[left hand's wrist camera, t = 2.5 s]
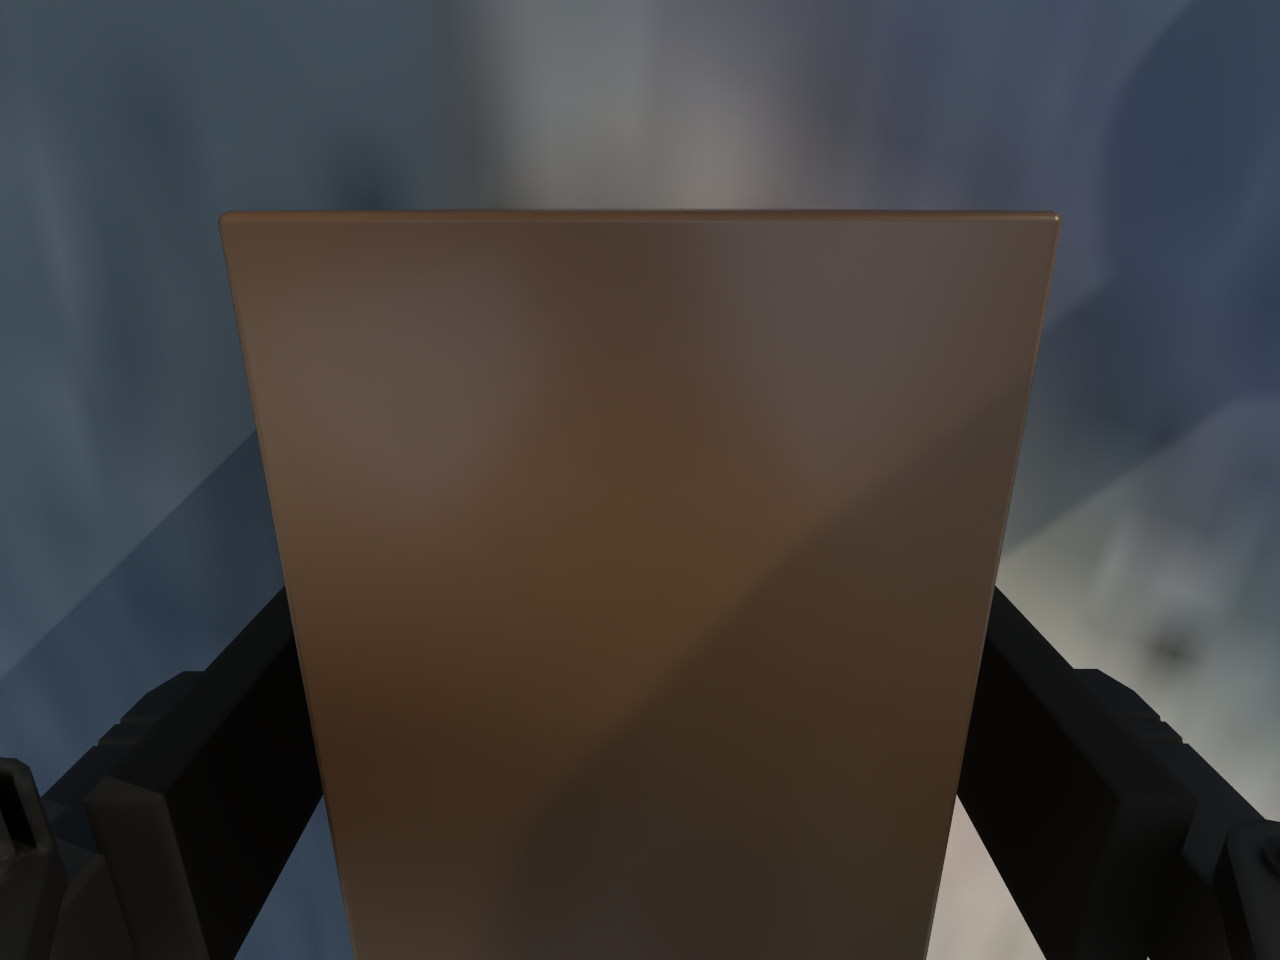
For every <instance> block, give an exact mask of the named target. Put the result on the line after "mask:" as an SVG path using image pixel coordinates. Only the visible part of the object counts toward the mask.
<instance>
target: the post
mask: <svg viewBox="0 0 1280 960" xmlns="http://www.w3.org/2000/svg"><path fill="white" fill-rule="evenodd" d="M218 224H219V229H220V235H221V240H222V245H223V251H224V256H225V262H226V267H227V273H228V278H229V283H230V289H231V294H232V300H233V305H234V311H235V316H236V321H237V327H238V332H239V338H240V343H241V349H242V354H243V359H244V365H245V370H246V376H247V381H248V387H249V392H250V397H251V403H252V408H253V414H254V419H255V425H256V430H257V435H258V441H259V446H260V452H261V457H262V463H263V468H264V473H265V479H266V484H267V490H268V495H269V501H270V506H271V511H272V517H273V522H274V528H275V533H276V539H277V544H278V549H279V555H280V560H281V566H282V571H283V576H284V582H285V587H286V593H287V598H288V604H289V609H290V614H291V620H292V625H293V631H294V636H295V642H296V647H297V652H298V658H299V663H300V669H301V674H302V680H303V685H304V690H305V696H306V701H307V707H308V712H309V718H310V723H311V728H312V734H313V739H314V745H315V750H316V756H317V761H318V766H319V772H320V777H321V783H322V788H323V794H324V799H325V804H326V810H327V815H328V821H329V826H330V832H331V837H332V842H333V848H334V853H335V859H336V864H337V870H338V875H339V880H340V886H341V891H342V897H343V902H344V908H345V913H346V918H347V924H348V929H349V935H350V940H351V945H352V951H353V956H354V960H926V957H927V951H928V946H929V940H930V935H931V930H932V924H933V919H934V913H935V908H936V902H937V897H938V892H939V886H940V881H941V875H942V870H943V864H944V859H945V854H946V848H947V843H948V837H949V832H950V826H951V821H952V816H953V810H954V805H955V799H956V794H957V788H958V783H959V778H960V772H961V767H962V761H963V756H964V750H965V745H966V740H967V734H968V729H969V723H970V718H971V712H972V707H973V702H974V696H975V691H976V685H977V680H978V674H979V669H980V664H981V658H982V653H983V647H984V642H985V636H986V631H987V626H988V620H989V615H990V609H991V604H992V598H993V593H994V588H995V582H996V577H997V571H998V566H999V560H1000V555H1001V550H1002V544H1003V539H1004V533H1005V528H1006V522H1007V517H1008V512H1009V506H1010V501H1011V495H1012V490H1013V484H1014V479H1015V474H1016V468H1017V463H1018V457H1019V452H1020V447H1021V441H1022V436H1023V430H1024V425H1025V419H1026V414H1027V409H1028V403H1029V398H1030V392H1031V387H1032V381H1033V376H1034V371H1035V365H1036V360H1037V354H1038V349H1039V343H1040V338H1041V333H1042V327H1043V322H1044V316H1045V311H1046V305H1047V300H1048V295H1049V289H1050V284H1051V278H1052V273H1053V267H1054V262H1055V257H1056V251H1057V246H1058V240H1059V235H1060V229H1061V224H1062V223H1061V216H1060V215H1059V214H1056V213H1054V212H1052V211H986V210H856V209H425V210H297V211H228V212H226V213H224V214H222V215H220V216H219V223H218Z"/></svg>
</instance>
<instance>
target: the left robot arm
mask: <svg viewBox="0 0 1280 960" xmlns="http://www.w3.org/2000/svg"><path fill="white" fill-rule="evenodd" d="M322 795H323V788H322V783H321V777H320V772H319V766H318V761H317V756H316V750H315V745H314V739H313V734H312V728H311V723H310V718H309V712H308V707H307V701H306V696H305V690H304V685H303V680H302V674H301V669H300V663H299V658H298V652H297V647H296V642H295V636H294V631H293V625H292V620H291V614H290V609H289V604H288V598H287V593H286V587H285V586H284V587H283V588H282V589H281V590H280V591H279V592H278V593H277V594H276V595H275V596H274V598H273V599H272V600H271V601H270V602H269V603H268V604H267V605H266V606H265V607H264V608H263V609H262V610H261V611H260V612H259V613H258V615H257V616H256V617H255V618H254V619H253V620H252V621H251V622H250V623H249V624H248V625H247V626H246V627H245V628H244V629H243V630H242V631H241V633H240V634H239V635H238V636H237V637H236V638H235V639H234V640H233V641H232V642H231V643H230V644H229V645H228V646H227V647H226V648H225V650H224V651H223V652H222V653H221V654H220V655H219V656H218V657H217V658H216V659H215V660H214V661H213V662H212V663H211V664H210V665H209V667H208V668H207V669H206V670H205V671H183V672H182V673H180V674H178V675H177V676H175V677H173V678H172V679H170V680H168V681H167V682H165V683H163V684H162V685H160V686H158V687H157V688H155V689H153V690H152V691H150V692H148V693H147V694H146V695H145V696H144V697H143V698H142V699H141V700H140V701H139V702H138V703H137V704H136V705H134V706H133V707H132V708H131V709H130V710H129V711H128V712H127V713H126V714H125V715H124V716H123V717H122V718H121V722H120V724H115V725H114V726H113V727H112V728H111V729H110V730H109V731H108V732H107V733H106V734H105V735H104V736H103V737H102V738H101V739H100V740H99V744H98V746H93V747H92V748H91V749H90V750H89V751H88V752H87V753H86V754H85V755H84V756H83V757H82V758H81V759H80V760H79V761H78V762H77V763H76V764H75V765H73V766H72V767H71V768H70V769H69V770H68V771H67V772H66V773H65V774H64V775H63V776H62V777H61V778H60V779H59V780H58V781H57V782H56V783H55V784H54V785H53V786H52V787H51V788H50V789H49V790H48V791H47V792H46V793H45V794H44V795H43V796H42V797H41V798H40V796H39V793H38V790H37V787H36V784H35V781H34V778H33V776H32V773H31V770H30V767H29V766H27V765H26V764H24V763H22V762H21V761H19V760H18V759H14V758H1V757H0V960H234V958H235V956H236V954H237V953H238V951H239V949H240V947H241V945H242V943H243V942H244V940H245V938H246V936H247V934H248V932H249V930H250V929H251V927H252V925H253V923H254V921H255V919H256V917H257V916H258V914H259V912H260V910H261V908H262V906H263V905H264V903H265V901H266V899H267V897H268V895H269V893H270V892H271V890H272V888H273V886H274V884H275V882H276V880H277V879H278V877H279V875H280V873H281V871H282V869H283V868H284V866H285V864H286V862H287V860H288V858H289V856H290V855H291V853H292V851H293V849H294V847H295V845H296V843H297V842H298V840H299V838H300V836H301V834H302V832H303V831H304V829H305V827H306V825H307V823H308V821H309V819H310V818H311V816H312V814H313V812H314V810H315V808H316V807H317V805H318V803H319V801H320V799H321V797H322ZM957 795H958V797H959V799H960V801H961V803H962V805H963V806H964V808H965V810H966V812H967V814H968V816H969V818H970V819H971V821H972V823H973V825H974V827H975V829H976V831H977V832H978V834H979V836H980V838H981V840H982V842H983V843H984V845H985V847H986V849H987V851H988V853H989V855H990V856H991V858H992V860H993V862H994V864H995V866H996V868H997V869H998V871H999V873H1000V875H1001V877H1002V879H1003V880H1004V882H1005V884H1006V886H1007V888H1008V890H1009V892H1010V893H1011V895H1012V897H1013V899H1014V901H1015V903H1016V905H1017V906H1018V908H1019V910H1020V912H1021V914H1022V916H1023V917H1024V919H1025V921H1026V923H1027V925H1028V927H1029V929H1030V930H1031V932H1032V934H1033V936H1034V938H1035V940H1036V941H1037V943H1038V945H1039V947H1040V949H1041V951H1042V953H1043V954H1044V956H1045V958H1046V960H1147V957H1149V959H1150V960H1280V822H1277V821H1271V820H1266V819H1265V818H1264V817H1262V816H1261V815H1260V814H1259V813H1258V812H1257V811H1256V810H1255V809H1254V808H1253V807H1252V806H1251V805H1250V804H1249V803H1248V802H1247V801H1246V800H1245V799H1244V798H1243V797H1242V796H1241V795H1240V794H1239V793H1238V792H1237V791H1236V790H1235V789H1234V788H1233V787H1232V786H1231V785H1230V784H1229V783H1228V782H1227V781H1226V780H1225V779H1224V778H1223V777H1222V776H1221V775H1219V774H1218V773H1217V772H1216V771H1215V770H1214V769H1213V768H1212V767H1211V766H1210V765H1209V764H1208V763H1207V762H1206V761H1205V760H1204V759H1203V758H1202V757H1201V756H1200V755H1199V754H1198V753H1197V752H1196V751H1195V750H1194V749H1193V748H1192V747H1191V746H1190V745H1189V744H1183V742H1182V737H1181V736H1180V735H1179V734H1178V733H1177V732H1175V731H1174V730H1173V729H1172V728H1171V727H1170V726H1169V725H1168V724H1167V723H1166V722H1161V720H1160V716H1159V715H1158V714H1157V713H1156V712H1155V711H1154V710H1153V709H1152V708H1151V707H1150V706H1149V705H1148V704H1147V703H1146V702H1145V701H1144V700H1143V699H1142V698H1141V697H1140V696H1139V695H1138V694H1137V693H1136V692H1135V691H1133V690H1132V689H1130V688H1128V687H1127V686H1125V685H1123V684H1122V683H1120V682H1118V681H1117V680H1115V679H1113V678H1111V677H1110V676H1108V675H1106V674H1105V673H1103V672H1101V671H1100V670H1098V669H1073V668H1072V667H1071V665H1070V664H1069V663H1068V662H1067V661H1066V660H1065V659H1064V658H1063V657H1062V656H1061V655H1060V654H1059V653H1058V652H1057V651H1056V650H1055V648H1054V647H1053V646H1052V645H1051V644H1050V643H1049V642H1048V641H1047V640H1046V639H1045V638H1044V637H1043V636H1042V635H1041V634H1040V633H1039V631H1038V630H1037V629H1036V628H1035V627H1034V626H1033V625H1032V624H1031V623H1030V622H1029V621H1028V620H1027V619H1026V618H1025V617H1024V616H1023V614H1022V613H1021V612H1020V611H1019V610H1018V609H1017V608H1016V607H1015V606H1014V605H1013V604H1012V603H1011V602H1010V601H1009V600H1008V599H1007V597H1006V596H1005V595H1004V594H1003V593H1002V592H1001V591H1000V590H999V589H998V588H997V587H996V586H995V588H994V593H993V598H992V604H991V609H990V615H989V620H988V626H987V631H986V636H985V642H984V647H983V653H982V658H981V664H980V669H979V674H978V680H977V685H976V691H975V696H974V702H973V707H972V712H971V718H970V723H969V729H968V734H967V740H966V745H965V750H964V756H963V761H962V767H961V772H960V778H959V783H958V788H957Z"/></svg>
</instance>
